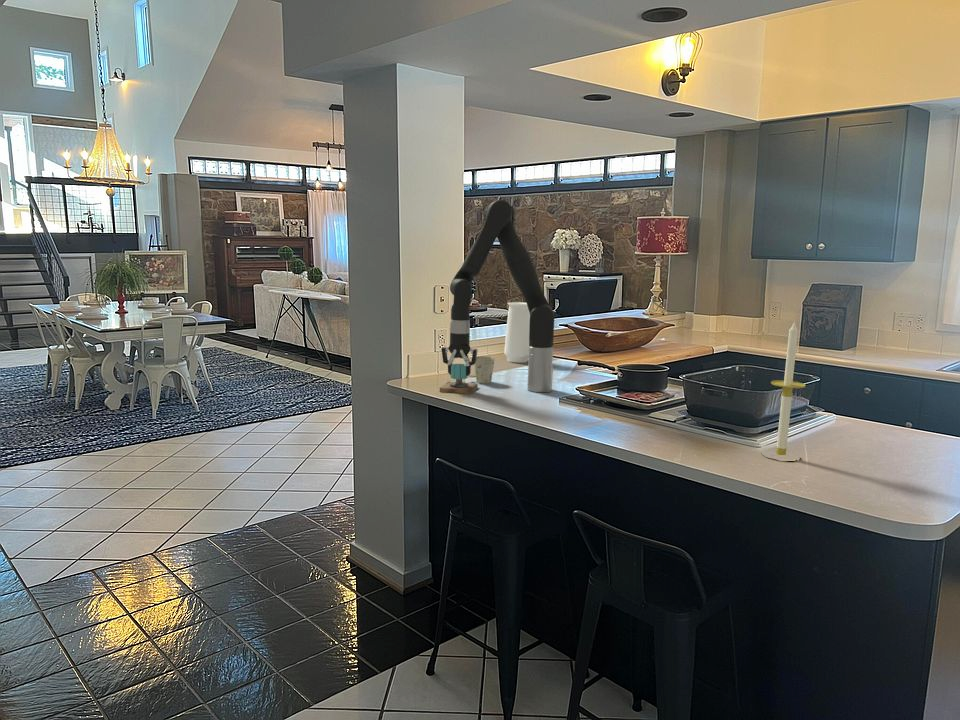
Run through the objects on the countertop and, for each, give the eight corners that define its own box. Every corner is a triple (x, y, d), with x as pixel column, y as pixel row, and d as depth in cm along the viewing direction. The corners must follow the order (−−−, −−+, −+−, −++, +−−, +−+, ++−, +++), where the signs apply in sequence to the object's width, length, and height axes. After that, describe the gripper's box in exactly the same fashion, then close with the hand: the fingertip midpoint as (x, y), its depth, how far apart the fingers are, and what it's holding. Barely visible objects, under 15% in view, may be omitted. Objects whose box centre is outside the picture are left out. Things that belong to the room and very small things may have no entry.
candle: (771, 448, 191) (784, 317, 185) (807, 457, 184) (822, 320, 177) (754, 455, 184) (767, 319, 178) (790, 464, 177) (805, 323, 171)
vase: (518, 357, 335) (520, 301, 330) (536, 361, 325) (538, 303, 321) (498, 360, 327) (500, 302, 322) (516, 364, 317) (518, 305, 312)
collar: (468, 376, 261) (468, 364, 260) (464, 379, 255) (465, 366, 254) (453, 375, 262) (453, 363, 261) (449, 378, 256) (449, 365, 255)
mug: (491, 384, 269) (492, 360, 268) (461, 382, 272) (461, 358, 270) (495, 380, 277) (496, 356, 276) (465, 378, 280) (466, 355, 278)
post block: (477, 387, 264) (478, 363, 262) (470, 393, 252) (470, 369, 250) (447, 385, 266) (448, 361, 265) (439, 391, 255) (439, 367, 253)
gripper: (480, 331, 257) (479, 374, 260) (444, 329, 260) (443, 372, 263) (476, 333, 250) (475, 378, 253) (438, 331, 253) (438, 375, 256)
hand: (459, 374), depth 258 cm, fingers closed on collar, 6 cm apart
